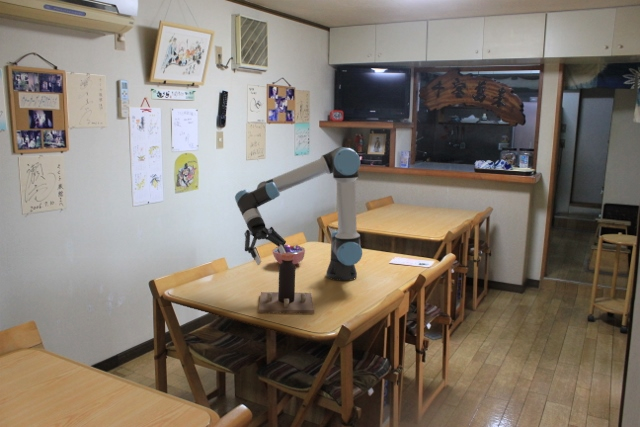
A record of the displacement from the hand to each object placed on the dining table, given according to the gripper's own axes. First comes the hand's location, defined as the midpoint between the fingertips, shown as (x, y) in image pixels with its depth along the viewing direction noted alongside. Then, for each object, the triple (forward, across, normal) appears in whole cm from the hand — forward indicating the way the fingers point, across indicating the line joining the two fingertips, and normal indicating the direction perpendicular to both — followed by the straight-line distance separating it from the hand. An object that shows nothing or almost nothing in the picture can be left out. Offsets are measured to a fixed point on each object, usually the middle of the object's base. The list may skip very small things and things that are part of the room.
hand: (273, 261), depth 229 cm
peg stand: (+18, 0, -5) cm, 19 cm away
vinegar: (+18, 0, -4) cm, 18 cm away
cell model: (-17, -38, -41) cm, 59 cm away
